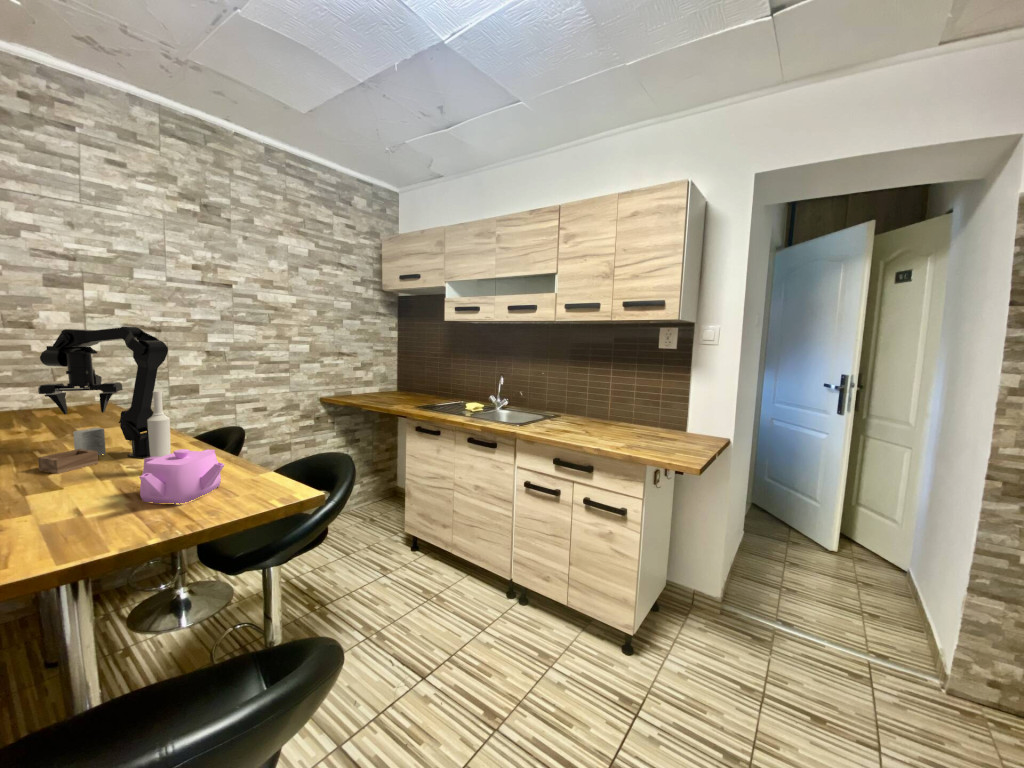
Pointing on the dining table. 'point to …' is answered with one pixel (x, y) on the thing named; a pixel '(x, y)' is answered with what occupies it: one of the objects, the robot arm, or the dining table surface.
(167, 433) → the bottle
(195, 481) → the teakettle
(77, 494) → the dining table surface
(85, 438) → the light grey squat block
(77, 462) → the post block
